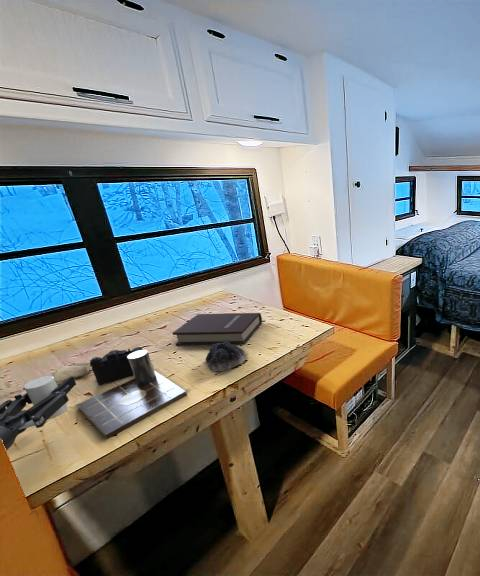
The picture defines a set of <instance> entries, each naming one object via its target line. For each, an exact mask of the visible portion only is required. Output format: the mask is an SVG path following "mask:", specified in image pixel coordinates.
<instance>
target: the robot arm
mask: <svg viewBox="0 0 480 576" xmlns="http://www.w3.org/2000/svg"><path fill="white" fill-rule="evenodd" d="M76 385H77V382H76V379H74V377H73V376H71V377H69V378H68V379H66V380H65V381H64V382H63V383H61V384H59V385H57V386H58V387H57V388H56V389H54V390H53V391H52V394H51V395H50V396H48V397H47V398H45V399H43V400H42V401H40V402H39V403H37V404H36V405H33V403H32V402H31V400H30V398H29V396H28V394H27V392H25V394H23V395H22V394H21V393H20V394H19V393H18V394H16V395H15V396H13V397H14V399H13V400H12V399H8V400H5V401H4V402H2V403H1V404H0V438H1V439H2V440H3V444H4V446H5V448H6V452H7V451H8V450H9V449H10V448H12V446H13V445H14V443H15V441H16V438H17V437H18V436H19V435H20V434H22V433H24V432H25V431H27V429H29V428H32V427H36V429H40V428H43V427H44V426H45V424H46V422H47V421H48V419H49V418H50V417H51V416H52V415H53V414H54V413H55V412H56V411H58V410H59V409H60V408H61V407H62V406H63V405H64V404H65V403H66V404H67V403H68V402H69V401H70V400H69V398H68V395H67V394H68V393H70V392H71V390H72V389H73V388H75V386H76ZM27 405H33V406H31V407H29V408H27V409H24V408H25V407H26V406H27ZM49 420H50V419H49Z"/></svg>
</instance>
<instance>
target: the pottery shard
mask: <svg viewBox="0 0 480 576" xmlns="http://www.w3.org/2000/svg"><path fill="white" fill-rule="evenodd" d="M89 368H91V365H90V362H89V363H87V364H83V365H63V366H61V367H60V368H58V369H57V370H56V371H55V373H54V374H53V375H52V376H53V377H54V379H55V381H56V383H57V386H59V385H60V384H62V383H63V382H64V381H65V380H66V379H68V378H69V377H71V376H73V377H74V380H76V379H77V378H81V377H83V376H86V375H88V374H89V373H90V370H89Z"/></svg>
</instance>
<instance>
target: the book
mask: <svg viewBox="0 0 480 576" xmlns="http://www.w3.org/2000/svg"><path fill="white" fill-rule="evenodd" d="M262 324H263V318H262V314H261V312H234V313H231V312H230V313H228V312H227V313H198V314H196V315H194V317H192V318H190V319H189V320H188V321H186V322H185V323H183V324H182V325H181V326H179V327H177V329H176V330H174V331H173V332H172V335H173V336H176V338H177V342H175V347H179V346H185V347H186V346H187V347H188V346H212V345H213V344H217V343H224V342H225V341H227V342H230V344H232V345H235V346H238V345H241V344H244V345H246V344H247V342H248V341H249V340H250V339H251V337H253V335H254V334H255V333H256V331H257V330H258V329H259V328H260V327H261V325H262ZM259 326H260V327H259ZM254 332H255V333H254ZM249 338H250V339H249ZM241 346H242V345H241Z"/></svg>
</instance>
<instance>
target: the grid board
mask: <svg viewBox="0 0 480 576" xmlns="http://www.w3.org/2000/svg"><path fill="white" fill-rule="evenodd" d="M154 372H155V375H156V379H155V380H154V381H153V382H151V383H149V384H146V385H137V383H136V380H135V378H132V379H130V380H128V381H125V382H123V383H122V384H119V385H117V386H114V387H113V388H110V389H109V390H106V391H103V392H101V393H100V394H96V395H95V396H93V397H91V398H89V399H86V400H84V401H81V402H80V403H77V405H76V406H77V408H78V410H80V412H81V413H82V414H83V415H84V416H85V417H86V419H88V420H89V422H90V423H92V425H93V426H94V428H96V430H98V431H99V433H100V434H101V435H102V436H103V437H104V438H105V439H106V440H109V439H111V438H113V437H114V436H116V435H119V434H120V433H122V432H124V431H126V430H127V429H128V428H130V427H132V426H134V425H136V424H138V423H141V421H143V420H145V419H146V418H147V419H148V418H149V417H151V416H152V415H155V414H156V413H158V412H160V411H161V410H164V409H165V408H166V407H169V406H170V405H172V404H174V403H176V402H178V401H179V400H181V399H183V398H184V397H186V396H188V392H187V391H186V390H185V389H183V388H182V387H181V386H179V385H178V384H176V383H175V382H173V381H172V380H170V379H168V378H167V377H165V376H164V375H163V374H161V373H160V372H158V371H156V370H155V369H154Z"/></svg>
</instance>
